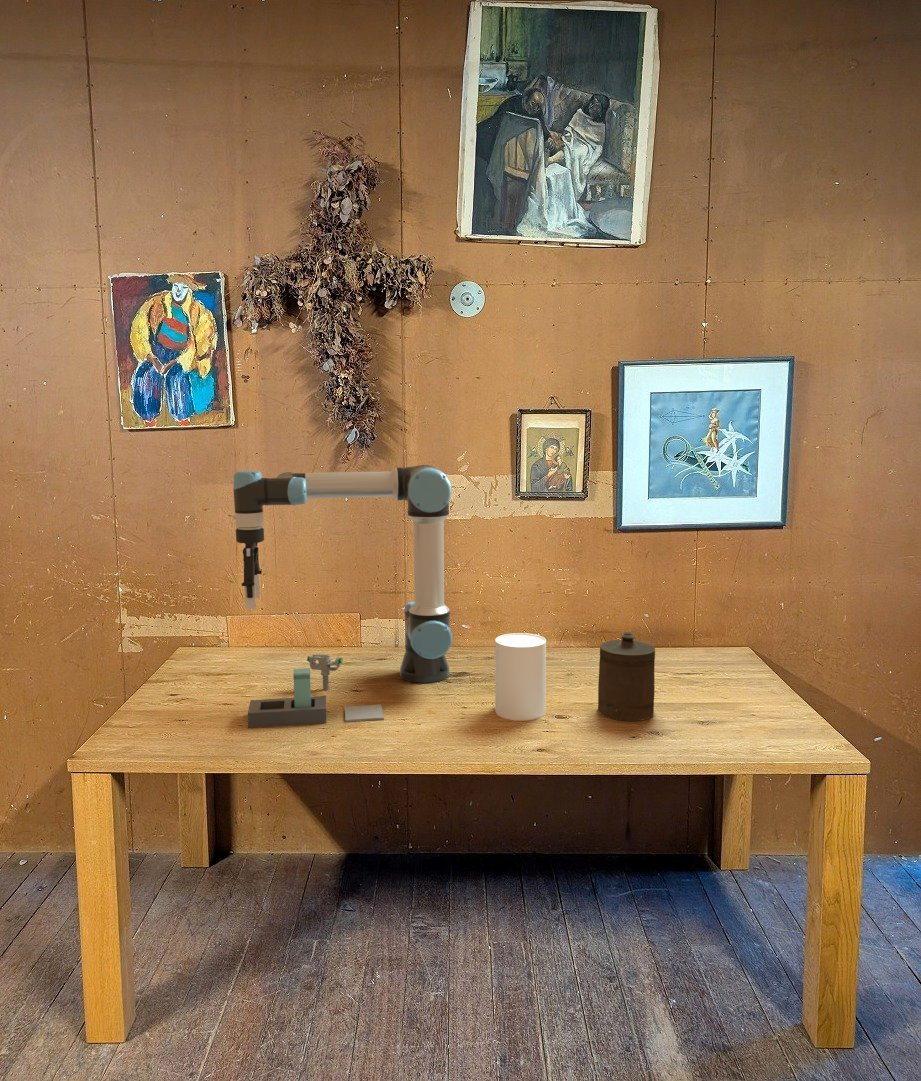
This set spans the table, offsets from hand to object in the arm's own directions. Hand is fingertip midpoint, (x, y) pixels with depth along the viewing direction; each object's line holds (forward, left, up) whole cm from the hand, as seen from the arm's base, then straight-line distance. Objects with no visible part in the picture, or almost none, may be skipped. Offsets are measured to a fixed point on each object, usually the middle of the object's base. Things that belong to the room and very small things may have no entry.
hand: (253, 603), depth 245 cm
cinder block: (-9, +17, -28) cm, 34 cm away
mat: (-29, +17, -28) cm, 44 cm away
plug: (-13, +17, -28) cm, 35 cm away
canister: (-71, +22, -28) cm, 79 cm away
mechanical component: (-19, -5, -28) cm, 34 cm away
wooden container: (-99, +27, -28) cm, 106 cm away
